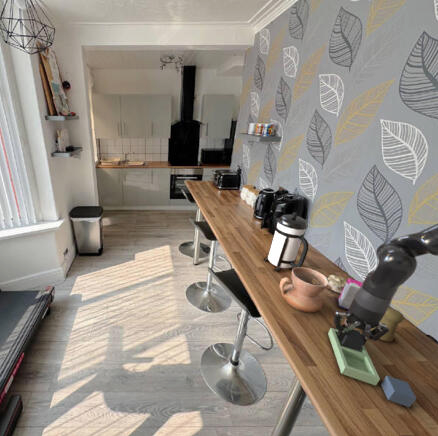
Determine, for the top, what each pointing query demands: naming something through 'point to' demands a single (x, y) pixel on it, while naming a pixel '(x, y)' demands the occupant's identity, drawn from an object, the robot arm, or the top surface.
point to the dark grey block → (353, 339)
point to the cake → (336, 283)
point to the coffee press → (288, 242)
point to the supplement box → (349, 293)
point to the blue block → (398, 391)
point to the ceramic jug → (304, 289)
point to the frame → (353, 361)
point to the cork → (391, 323)
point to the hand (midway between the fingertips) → (349, 341)
